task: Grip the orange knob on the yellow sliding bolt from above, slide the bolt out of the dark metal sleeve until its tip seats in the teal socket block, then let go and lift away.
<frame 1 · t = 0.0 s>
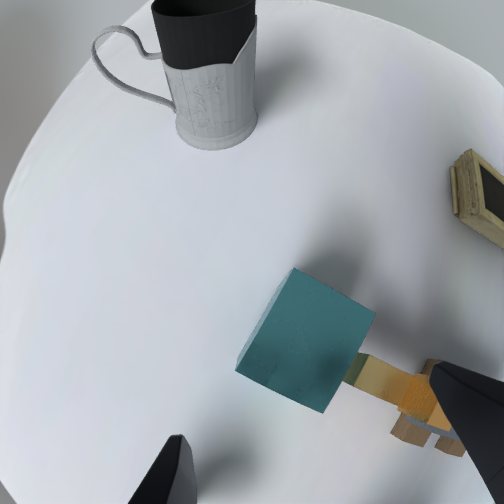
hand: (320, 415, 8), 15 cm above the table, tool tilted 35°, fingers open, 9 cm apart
yellow sliding bolt: (454, 411, 15), point 6 cm above the table, slide at 0.0 cm
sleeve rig: (390, 387, 22), on the table
glass holder: (190, 121, 28), on the table
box: (497, 227, 27), on the table
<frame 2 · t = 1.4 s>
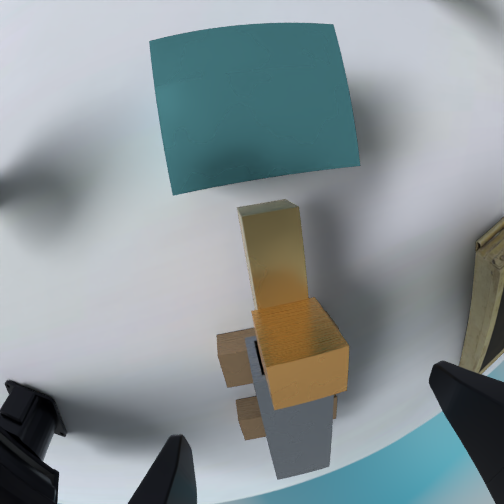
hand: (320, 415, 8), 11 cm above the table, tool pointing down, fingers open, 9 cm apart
yellow sliding bolt: (296, 392, 14), point 7 cm above the table, slide at 0.0 cm
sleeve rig: (267, 289, 19), on the table
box: (478, 307, 24), on the table
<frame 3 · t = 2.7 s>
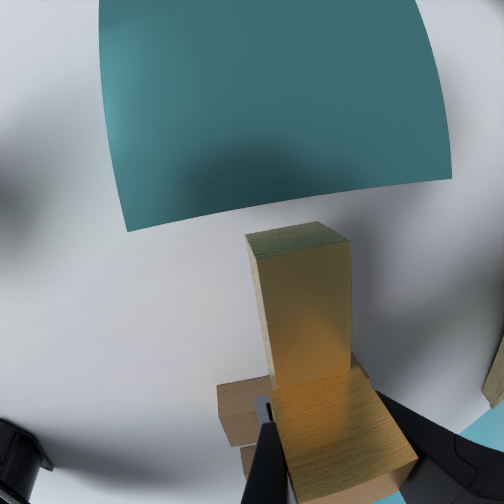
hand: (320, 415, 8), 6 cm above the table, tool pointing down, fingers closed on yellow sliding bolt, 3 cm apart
yellow sliding bolt: (321, 470, 9), point 6 cm above the table, slide at 0.0 cm, touching gripper
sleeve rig: (282, 332, 14), on the table
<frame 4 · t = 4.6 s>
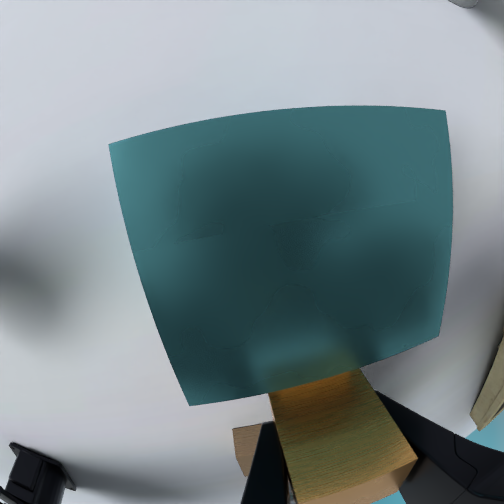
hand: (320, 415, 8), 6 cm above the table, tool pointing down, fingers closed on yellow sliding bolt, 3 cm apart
yellow sliding bolt: (321, 470, 9), point 7 cm above the table, slide at 4.4 cm, touching gripper
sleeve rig: (289, 390, 16), on the table
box: (495, 363, 20), on the table
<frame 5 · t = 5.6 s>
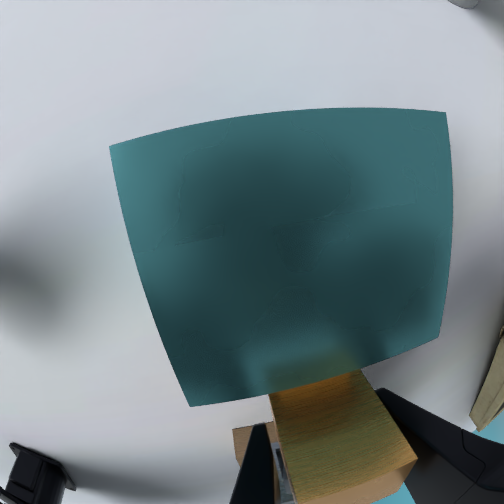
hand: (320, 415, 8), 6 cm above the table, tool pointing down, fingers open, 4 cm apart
yellow sliding bolt: (321, 470, 9), point 6 cm above the table, slide at 4.4 cm
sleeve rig: (289, 390, 16), on the table
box: (493, 364, 21), on the table
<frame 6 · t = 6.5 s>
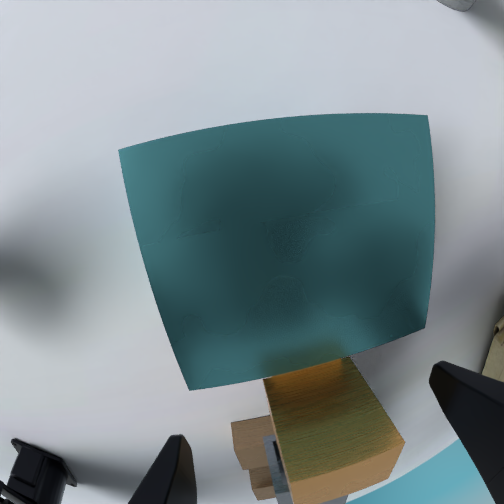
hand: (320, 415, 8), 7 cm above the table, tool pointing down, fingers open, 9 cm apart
yellow sliding bolt: (315, 459, 10), point 7 cm above the table, slide at 4.4 cm
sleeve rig: (286, 384, 16), on the table
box: (489, 362, 21), on the table
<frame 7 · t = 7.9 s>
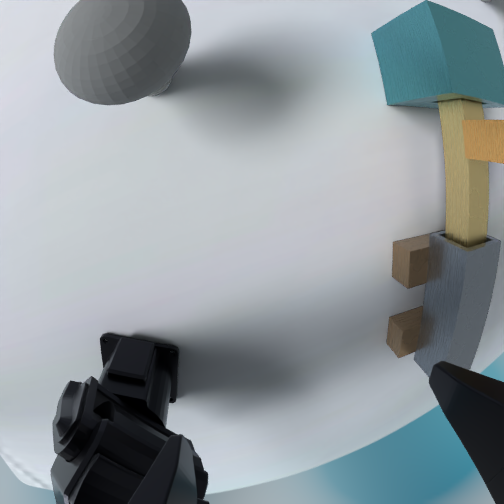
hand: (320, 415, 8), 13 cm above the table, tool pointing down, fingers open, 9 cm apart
yellow sliding bolt: (487, 202, 14), point 6 cm above the table, slide at 4.4 cm
light bulb: (154, 79, 15), on the table
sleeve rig: (429, 201, 20), on the table
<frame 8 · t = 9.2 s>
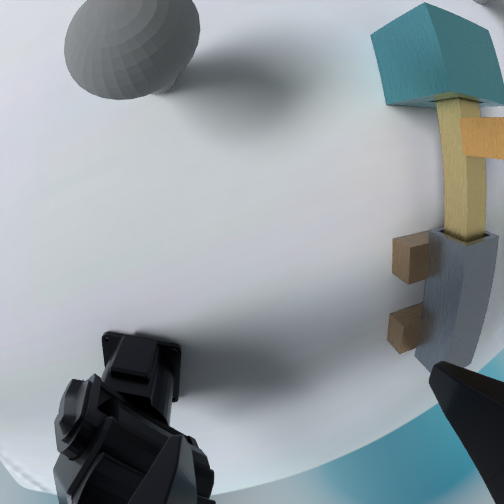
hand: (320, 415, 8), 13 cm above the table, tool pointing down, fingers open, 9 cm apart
yellow sliding bolt: (485, 198, 14), point 7 cm above the table, slide at 4.4 cm
light bulb: (158, 78, 16), on the table
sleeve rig: (428, 199, 20), on the table
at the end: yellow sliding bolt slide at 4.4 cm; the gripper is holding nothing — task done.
